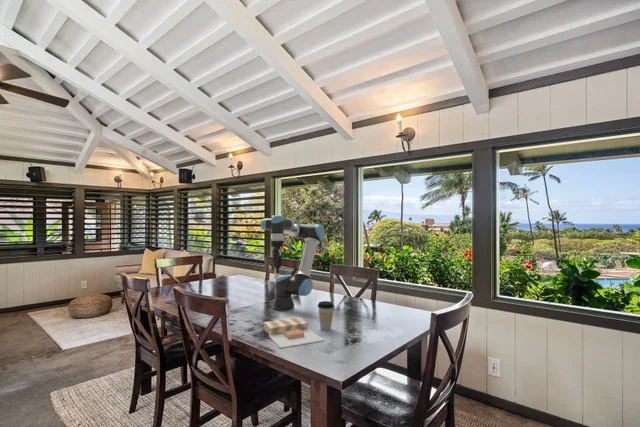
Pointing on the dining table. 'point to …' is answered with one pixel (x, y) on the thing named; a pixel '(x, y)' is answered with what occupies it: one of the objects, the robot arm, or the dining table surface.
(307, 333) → the mat
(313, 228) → the robot arm
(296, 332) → the tile
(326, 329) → the coffee cup
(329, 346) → the dining table surface
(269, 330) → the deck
